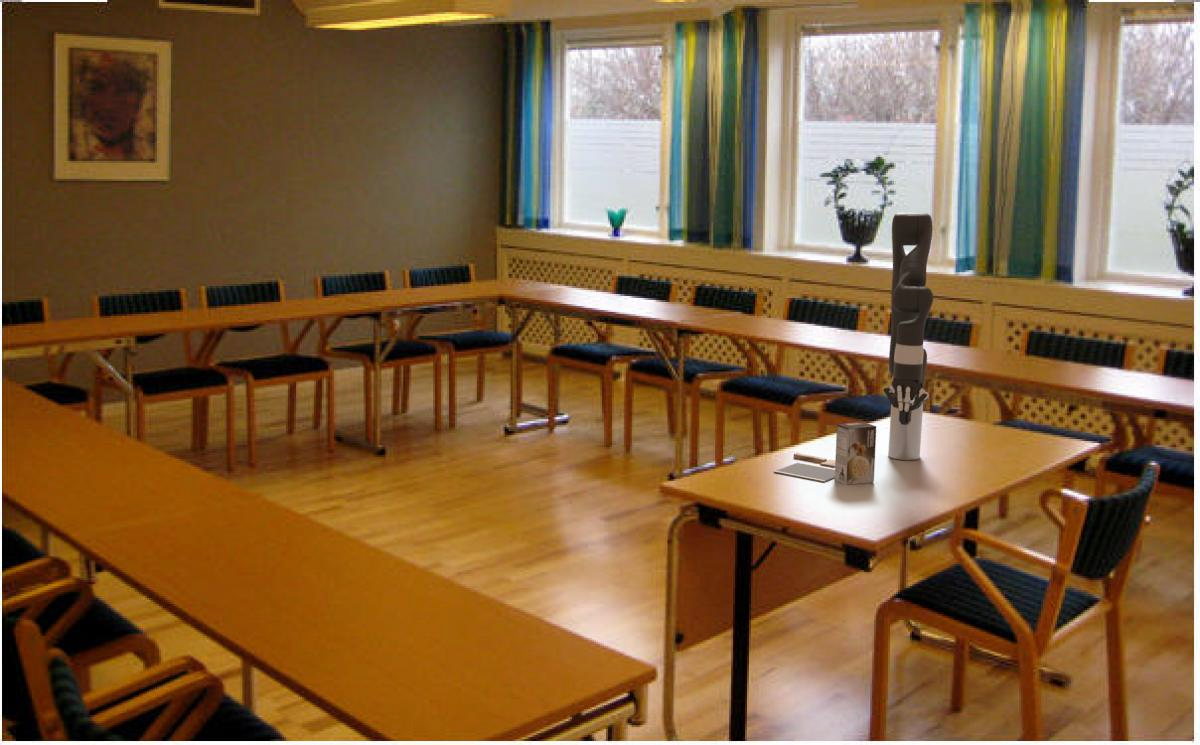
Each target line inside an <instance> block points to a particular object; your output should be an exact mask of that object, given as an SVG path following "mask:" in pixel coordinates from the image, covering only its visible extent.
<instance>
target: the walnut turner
mask: <svg viewBox="0 0 1200 745" xmlns="http://www.w3.org/2000/svg"><path fill="white" fill-rule="evenodd" d="M793 458H794V459H798V460H802V461H808V462H812V463H818V464H819V466H821V467H826V468H831V469H835V459H827V458H824V457H820V456H815V455H809V454H806V453H805V454H804V453H799V452H796V453H793Z"/></svg>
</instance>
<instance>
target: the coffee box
mask: <svg viewBox="0 0 1200 745" xmlns="http://www.w3.org/2000/svg"><path fill="white" fill-rule="evenodd" d="M835 438H836V439H835V459H834V460H835V468H834V469H835V478H834V480H835V481H836V482H839V483H841V484H843V485H845V486H849V485H850V486H851V485H859V484H860V485H861V484H871V483H872V484H873V483H874V482H875V468H876V467H875V463H876V442H877V441H876V440H877V426H876V425H873V424H870V423H868V422H865V421H860V422H847V423H836V437H835Z"/></svg>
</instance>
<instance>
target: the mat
mask: <svg viewBox="0 0 1200 745" xmlns="http://www.w3.org/2000/svg"><path fill="white" fill-rule="evenodd" d="M773 473H774V474H778V475H784V476H789V477H794V478H799V479H805V480H809V481H815V482H820V483H826V482H829V481H832V480H835V468H832V467H827V466H822V465H815V464H810V463H804V462H799V461H798V462H796V463H793V464H790V465H787V466H785V467H782V468H779V469H776V470H773Z"/></svg>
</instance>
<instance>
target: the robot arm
mask: <svg viewBox="0 0 1200 745" xmlns="http://www.w3.org/2000/svg"><path fill="white" fill-rule="evenodd" d="M931 216H932V215H931V214H929V213H927V212H926V213H925V212H897V213H894V216H893V218H892V223H891V247H892V279H891V295H890V296H891V297H890V298H891V301H890V304H891V305H890V306H891V308H890V309H891V311H890V312H891V314H890V315H891V322H890V323H891V327H890V328H891V329H890V330H891V331H890V342H889V353H888V354H889V355H888V371H889V372H888V373H889V374H890V376H892V377H893V379H892V381H891V384H890V385H889V386H887V387H884V388H883V393H884V394H885V396H886V397H887V399H888V401H889V402H890V418H889V419H890V421H889V437H888V452H887V453H888V455H887V456H888V457H889V458H892V459H895V460H900V461H901V460H902V461H915V460H919V459H920V457H921V441H922V429H923V428H922V427H923V413H924V403H925V402H926V400H928V399H929V397H930V396H931V393H930V392H929V391H926V390H925V382H926V372H927V366H928V365H927V364H928V354H927V351H926V349H925V348H924V339H925V338H924V337H925V328H926V323H927V319H928V317H929V314H930V311H931V309H932V306H933V302H934V293H933V291H932V290H931V288H929V287H927V286H926V285H927V267H928V266H927V264H928V259H929V255H930V251H931V244H932V238H933V219H932V217H931ZM904 246H915V247H914V248H913V249H912V250H910V252H908V253H907V254H906V252H905V247H904Z"/></svg>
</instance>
